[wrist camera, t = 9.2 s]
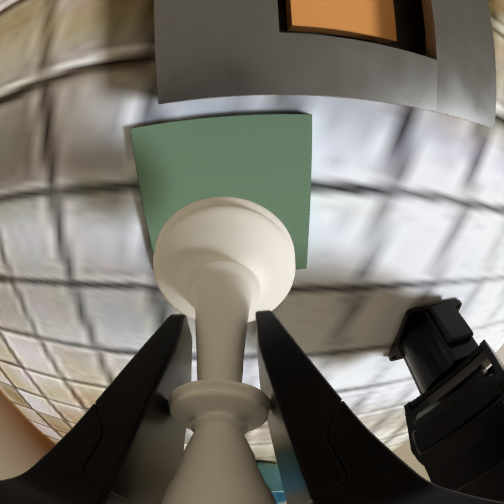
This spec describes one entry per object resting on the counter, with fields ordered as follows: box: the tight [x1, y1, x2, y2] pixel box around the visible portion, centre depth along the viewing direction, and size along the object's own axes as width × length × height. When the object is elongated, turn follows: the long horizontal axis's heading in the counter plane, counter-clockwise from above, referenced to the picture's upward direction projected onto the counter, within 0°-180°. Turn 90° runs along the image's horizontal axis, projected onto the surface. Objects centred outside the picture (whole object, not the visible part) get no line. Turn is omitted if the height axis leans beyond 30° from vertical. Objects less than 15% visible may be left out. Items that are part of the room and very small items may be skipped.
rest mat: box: [131, 114, 312, 269], centre depth 15 cm, size 9×9×1 cm
